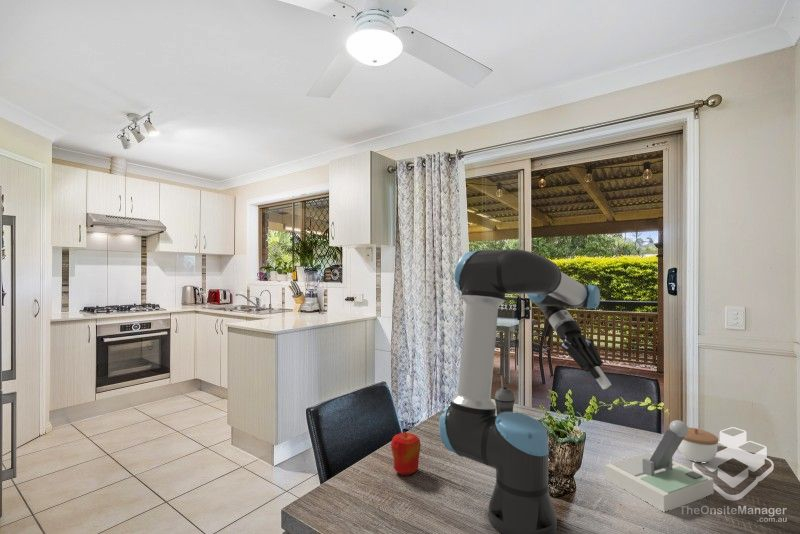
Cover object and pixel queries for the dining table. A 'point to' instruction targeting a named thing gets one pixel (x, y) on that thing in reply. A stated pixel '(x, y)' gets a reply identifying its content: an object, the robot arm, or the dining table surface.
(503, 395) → the beverage cup
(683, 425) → the toggle lever
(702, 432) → the lidded jar
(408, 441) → the apple
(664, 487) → the switch box
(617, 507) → the dining table surface
